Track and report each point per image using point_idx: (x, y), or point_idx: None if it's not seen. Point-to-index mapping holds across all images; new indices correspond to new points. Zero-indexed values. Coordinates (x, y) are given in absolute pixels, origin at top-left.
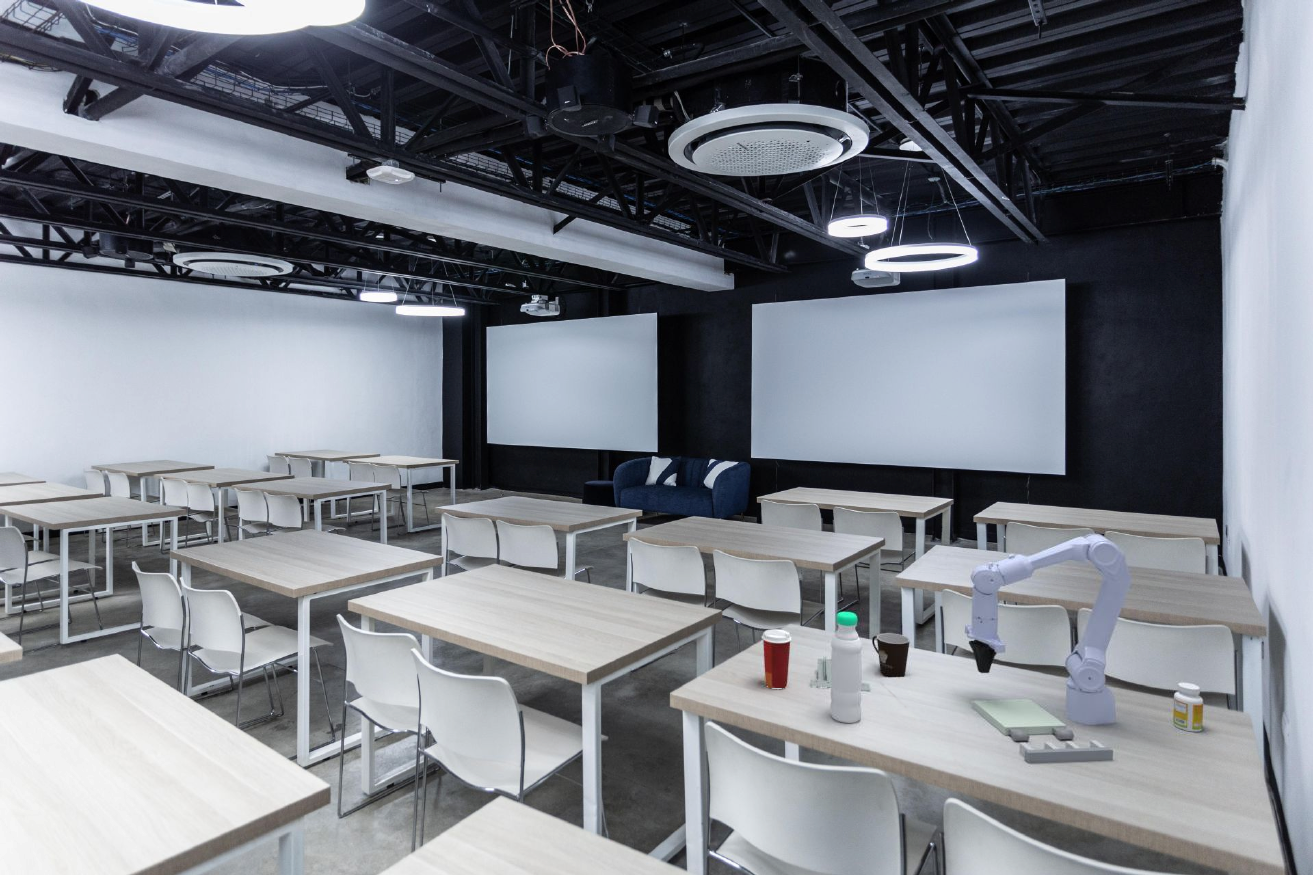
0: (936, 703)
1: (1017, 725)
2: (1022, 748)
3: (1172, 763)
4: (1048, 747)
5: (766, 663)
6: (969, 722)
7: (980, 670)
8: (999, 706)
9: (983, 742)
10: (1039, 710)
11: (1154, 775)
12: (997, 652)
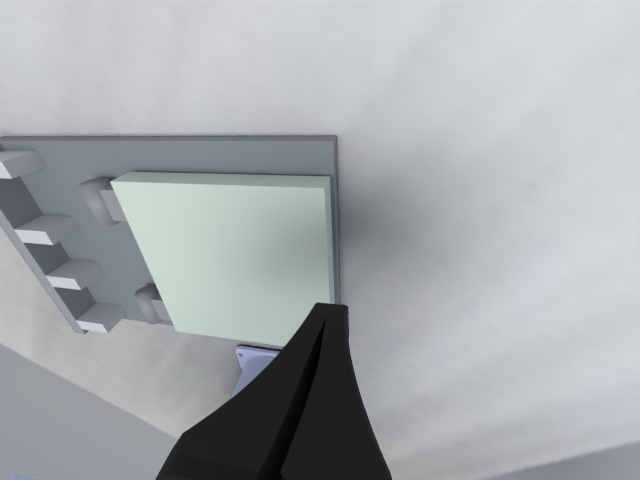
0: (458, 55)
1: (137, 224)
2: (1, 158)
3: (152, 381)
4: (37, 227)
5: None
6: (264, 120)
7: (312, 310)
8: (273, 252)
9: (120, 91)
10: (256, 331)
11: (100, 339)
12: (9, 477)
